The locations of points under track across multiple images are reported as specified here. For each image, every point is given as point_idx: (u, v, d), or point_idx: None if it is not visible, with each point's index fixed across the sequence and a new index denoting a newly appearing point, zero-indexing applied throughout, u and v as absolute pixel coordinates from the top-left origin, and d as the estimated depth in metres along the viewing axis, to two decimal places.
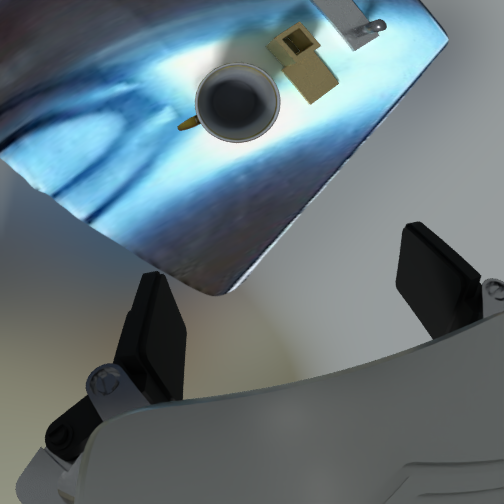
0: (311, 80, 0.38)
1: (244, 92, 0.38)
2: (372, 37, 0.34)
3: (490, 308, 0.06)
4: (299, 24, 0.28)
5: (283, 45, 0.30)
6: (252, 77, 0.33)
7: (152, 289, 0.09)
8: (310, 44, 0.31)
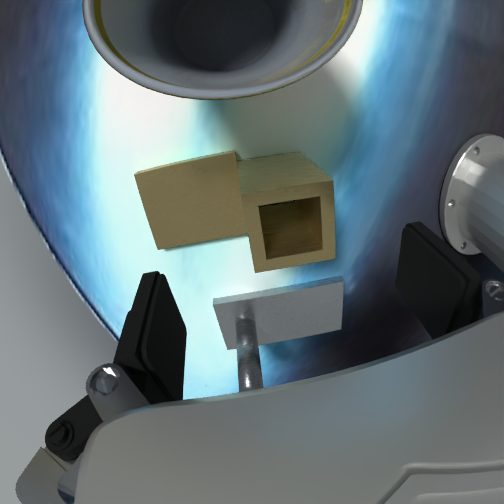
0: (182, 200, 0.20)
1: (229, 54, 0.15)
2: (227, 339, 0.27)
3: (490, 308, 0.06)
4: (329, 254, 0.15)
5: (302, 190, 0.13)
6: (260, 70, 0.12)
7: (152, 289, 0.09)
8: (267, 248, 0.16)
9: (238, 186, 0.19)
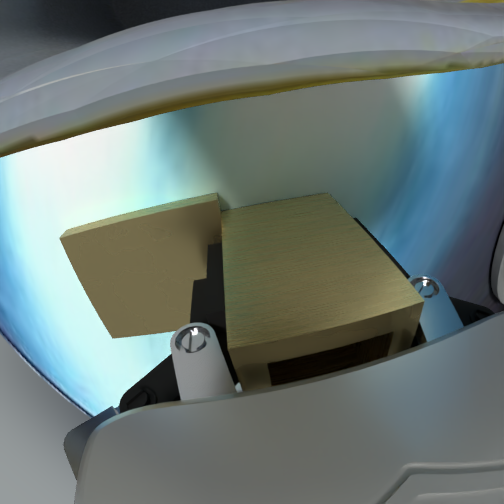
0: (136, 277, 0.12)
1: None
2: None
3: (424, 310, 0.06)
4: None
5: (364, 327, 0.06)
6: None
7: (222, 257, 0.10)
8: None
9: None
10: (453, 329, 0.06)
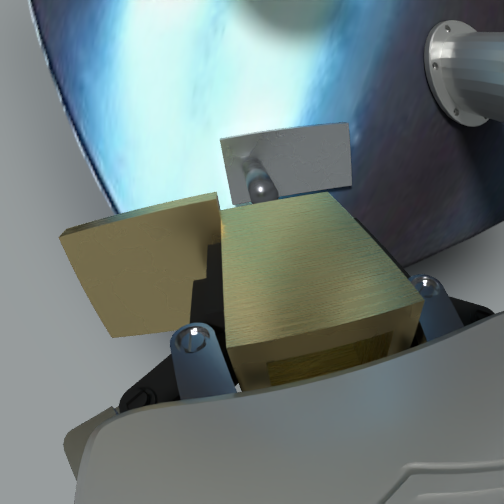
0: (135, 276, 0.12)
1: None
2: (233, 189, 0.25)
3: (424, 310, 0.06)
4: None
5: (364, 326, 0.06)
6: None
7: None
8: None
9: None
10: (453, 329, 0.06)
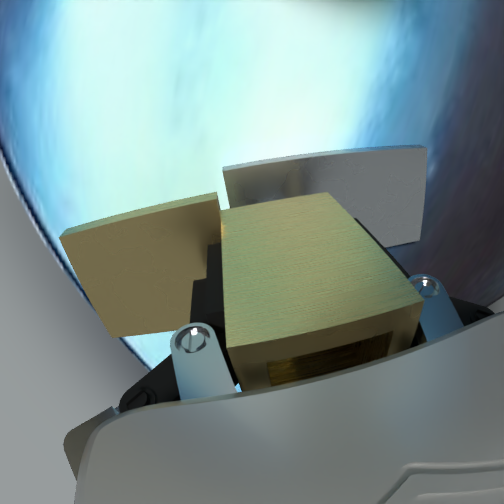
0: (135, 276, 0.12)
1: None
2: None
3: (424, 310, 0.06)
4: None
5: (364, 327, 0.06)
6: None
7: None
8: None
9: None
10: (453, 329, 0.06)
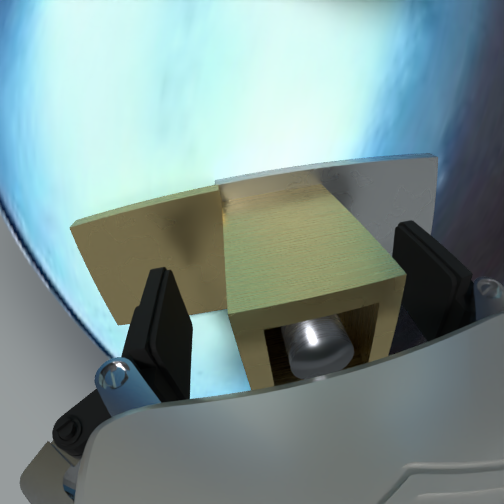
0: (142, 263, 0.13)
1: None
2: None
3: (483, 307, 0.06)
4: None
5: (351, 297, 0.07)
6: None
7: (160, 284, 0.09)
8: (276, 364, 0.09)
9: None
10: None
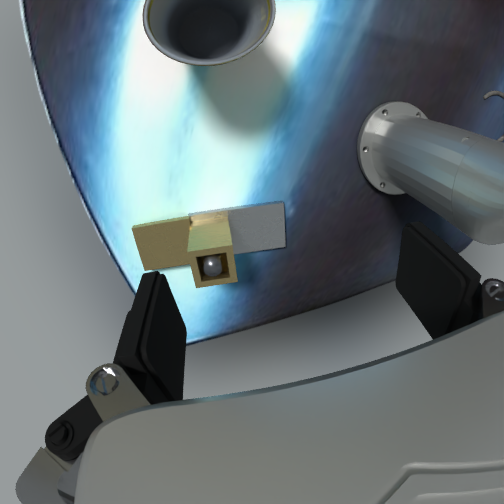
0: (159, 243, 0.34)
1: (210, 49, 0.24)
2: None
3: (490, 308, 0.06)
4: (234, 279, 0.30)
5: (217, 249, 0.28)
6: (225, 56, 0.21)
7: (152, 289, 0.09)
8: (203, 275, 0.31)
9: None
10: None
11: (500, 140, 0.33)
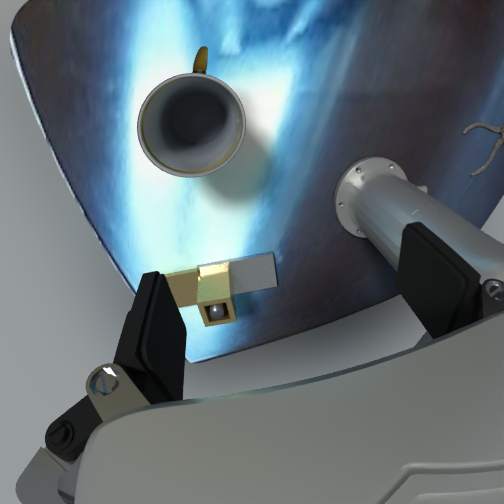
0: (175, 289, 0.43)
1: (200, 133, 0.33)
2: None
3: (490, 308, 0.06)
4: (233, 320, 0.39)
5: (219, 300, 0.37)
6: (211, 153, 0.30)
7: (152, 289, 0.09)
8: (210, 316, 0.40)
9: None
10: None
11: (481, 170, 0.39)
